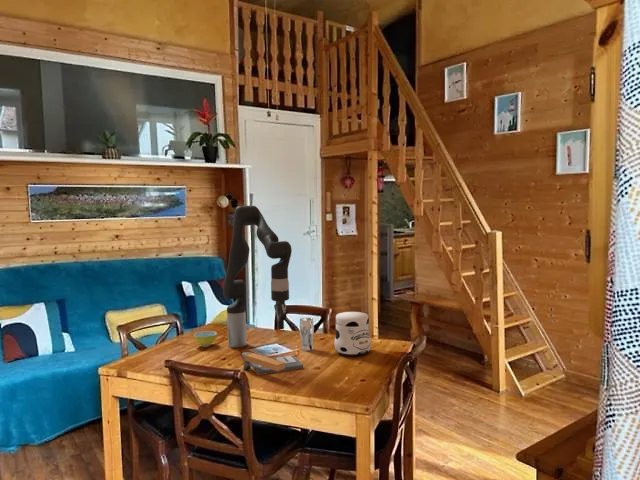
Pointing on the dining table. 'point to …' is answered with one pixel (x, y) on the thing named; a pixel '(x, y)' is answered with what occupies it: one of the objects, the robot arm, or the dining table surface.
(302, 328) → the beer glass
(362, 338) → the milk container
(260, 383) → the dining table surface
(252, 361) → the swing bar
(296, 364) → the label board
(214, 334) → the bowl
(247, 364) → the post
